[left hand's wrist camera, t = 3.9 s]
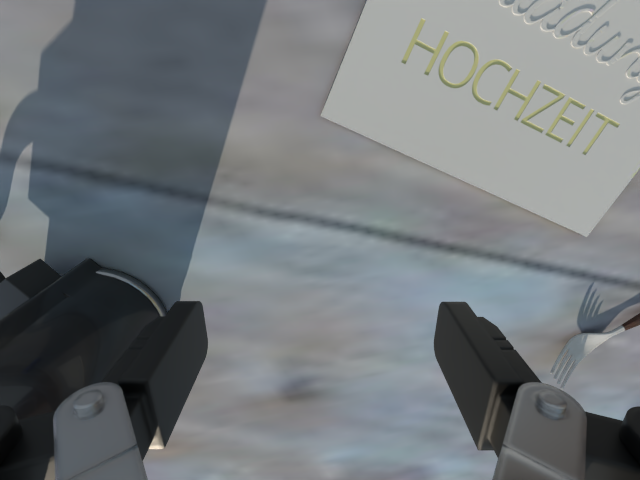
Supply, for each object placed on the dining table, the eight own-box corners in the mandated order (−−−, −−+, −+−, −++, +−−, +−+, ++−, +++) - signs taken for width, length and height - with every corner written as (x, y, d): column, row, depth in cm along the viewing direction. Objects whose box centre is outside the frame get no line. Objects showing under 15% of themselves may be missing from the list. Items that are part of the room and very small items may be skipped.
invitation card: (320, 116, 21) (443, -192, 16) (320, 116, 22) (441, -187, 16) (587, 237, 25) (758, 16, 20) (584, 235, 25) (752, 17, 20)
